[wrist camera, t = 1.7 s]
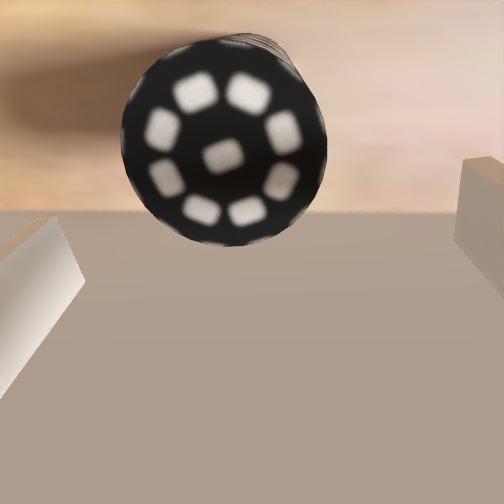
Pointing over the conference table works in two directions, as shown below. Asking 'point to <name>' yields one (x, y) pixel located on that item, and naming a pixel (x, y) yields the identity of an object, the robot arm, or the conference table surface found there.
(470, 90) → the conference table surface
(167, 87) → the white-spotted black cylinder
